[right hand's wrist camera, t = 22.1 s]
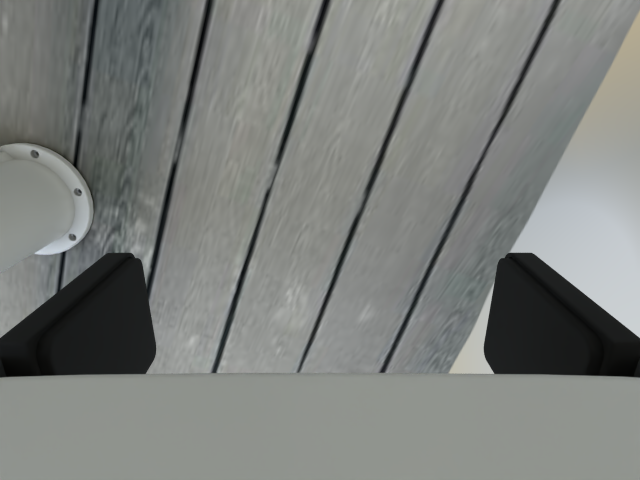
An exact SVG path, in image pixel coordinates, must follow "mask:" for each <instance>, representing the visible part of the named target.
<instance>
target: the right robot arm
mask: <svg viewBox="0 0 640 480" xmlns="http://www.w3.org/2000/svg"><path fill="white" fill-rule="evenodd" d="M38 153H39V154H38ZM80 190H81V191H82V192H81V191H80ZM93 213H94V211H93V201H92V197H91V193H90V190H89V188H88V186H87V184H86V182H85V180H84V179H83V177H82V176H81V174H80V173H79V172H78V170H77V169H76V168H75V167H74V166H73V165H72V164H71V163H70V162H69V161H67V160H66V159H65V158H63V157H62V156H61V155H59V154H57V153H56V152H54V151H52V150H50V149H48V148H45V147H42V146H39V145H35V144H29V143H14V144H8V145H3V146H0V273H2V272H4V271H5V270H7V269H9V268H10V267H12V266H14V265H15V264H17V263H19V262H20V261H22V260H24V259H25V258H27V257H29V256H31V255H32V254H39V255H52V254H57V253H61V252H64V251H66V250H68V249H70V248H72V247H73V246H75V245H76V244H78V243H79V242H80V241H81V240H82V239H83V238H84V237H85V236H86V234H87V233H88V231H89V229H90V226H91V224H92V220H93ZM155 355H156V342H155V336H154V330H153V325H152V319H151V313H150V307H149V301H148V295H147V289H146V283H145V277H144V271H143V265H142V262H141V260H140V259H139V258H135V257H134V255H133V254H132V253H107V254H106V255H104V256H103V257H102V258H100V259H99V260H98V261H97V262H95V263H94V264H93V265H92V266H90V267H89V268H88V269H87V270H85V271H84V272H83V273H82V274H80V275H79V276H78V277H77V278H75V279H74V280H73V281H72V282H70V283H69V284H68V285H67V286H65V287H64V288H63V289H61V290H60V291H59V292H58V293H56V294H55V295H54V296H53V297H51V298H50V299H49V300H48V301H46V302H45V303H44V304H43V305H41V306H40V307H39V308H38V309H36V310H35V311H34V312H33V313H31V314H30V315H29V316H27V317H26V318H25V319H24V320H22V321H21V322H20V323H19V324H17V325H16V326H15V327H14V328H12V329H11V330H10V331H9V332H7V333H6V334H5V335H4V336H2V337H1V338H0V480H640V338H639V337H638V336H636V335H635V334H634V333H633V332H631V331H630V330H629V329H628V328H626V327H625V326H624V325H622V324H621V323H620V322H619V321H618V320H616V319H615V318H614V317H613V316H611V315H610V314H609V313H607V312H606V311H605V310H604V309H602V308H601V307H600V306H599V305H597V304H596V303H595V302H594V301H592V300H591V299H590V298H589V297H587V296H586V295H585V294H584V293H582V292H581V291H580V290H579V289H577V288H576V287H575V286H573V285H572V284H571V283H570V282H568V281H567V280H566V279H565V278H563V277H562V276H561V275H560V274H558V273H557V272H556V271H555V270H553V269H552V268H551V267H550V266H548V265H547V264H546V263H545V262H543V261H542V260H541V259H539V258H538V257H537V256H536V255H534V254H533V253H508V254H507V255H506V257H505V258H501V259H500V260H499V262H498V265H497V271H496V277H495V283H494V289H493V295H492V301H491V307H490V313H489V319H488V325H487V330H486V336H485V342H484V355H485V358H486V360H487V362H488V364H489V365H490V367H491V369H492V370H493V372H494V374H428V373H201V374H146V372H147V370H148V369H149V367H150V365H151V364H152V362H153V360H154V358H155Z"/></svg>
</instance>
